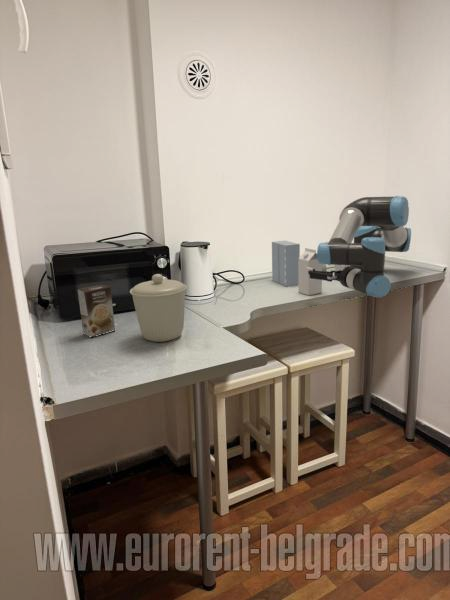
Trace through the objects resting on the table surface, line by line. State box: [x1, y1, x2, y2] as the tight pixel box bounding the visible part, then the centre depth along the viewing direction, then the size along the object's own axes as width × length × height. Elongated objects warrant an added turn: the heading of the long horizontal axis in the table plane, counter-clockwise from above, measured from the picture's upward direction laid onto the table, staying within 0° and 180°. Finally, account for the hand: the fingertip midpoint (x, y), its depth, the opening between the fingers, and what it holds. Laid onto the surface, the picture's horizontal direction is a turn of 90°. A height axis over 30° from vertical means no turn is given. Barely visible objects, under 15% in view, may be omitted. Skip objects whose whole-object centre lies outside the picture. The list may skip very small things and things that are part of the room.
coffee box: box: [77, 284, 116, 337], centre depth 146 cm, size 9×6×16 cm
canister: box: [129, 273, 188, 343], centre depth 139 cm, size 18×18×21 cm
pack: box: [271, 240, 301, 288], centre depth 203 cm, size 7×14×19 cm, turn 21°
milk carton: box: [297, 248, 323, 296], centre depth 183 cm, size 7×7×19 cm
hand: (321, 268), depth 174 cm, fingers open, 13 cm apart
